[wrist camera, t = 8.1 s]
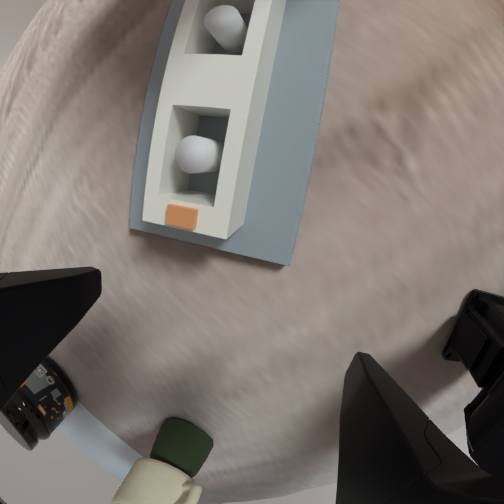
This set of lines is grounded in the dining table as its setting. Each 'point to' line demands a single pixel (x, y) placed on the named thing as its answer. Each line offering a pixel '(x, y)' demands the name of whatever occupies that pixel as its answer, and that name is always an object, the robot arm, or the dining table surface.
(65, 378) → the supplement container
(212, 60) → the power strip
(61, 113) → the dining table surface
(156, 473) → the character mug
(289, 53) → the stud board
